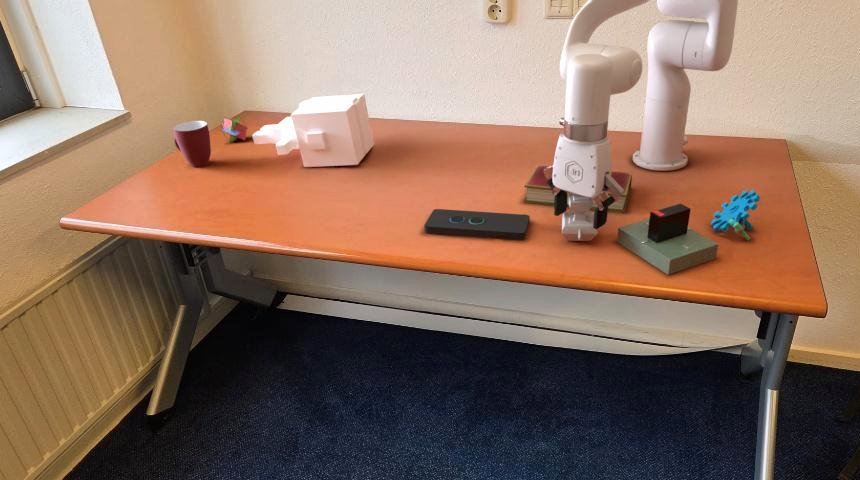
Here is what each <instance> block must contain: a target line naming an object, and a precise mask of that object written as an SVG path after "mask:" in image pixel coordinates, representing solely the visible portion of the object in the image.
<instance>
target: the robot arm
mask: <svg viewBox="0 0 860 480" xmlns="http://www.w3.org/2000/svg"><path fill="white" fill-rule="evenodd" d="M650 1H651V0H587V1H586V2H585V3H584V4H583V5H582V6H581V8H580V9H579V10H578V11H577V13H576V14H575V16H574V17H573V19H572V21H571V23H570V25H569V27H568V30H567V34H566V37H565V40H564V44H563V47H562V50H561V54H560V60H559V75H560V78H561V79H562V81H563V82H564V83H565V101H564V103H565V104H564V105H565V106H564V117H561V118H560V119H559V121H558V122H559V123H558V124H559V125H560V126H562V127H563V132H561V133H560V134H559V136H558V140H557V143H556V148H555V152H554V158H553V159H554V160H553V164H552V165H549V166H550V167H548V168H546V169H544V170H543V172H544V175H545V177H546V179H547V180H548V181H547V183H548V185H549V186H550V188H551V189H552V194H553V195H554V206H553V209H554V211H553V212H554V213H553V215H554V216H555V217H559V216H561V215H563V214H564V213H567V211H568V207H567V196H568V194H567V192H565V191H568V192H571V193H574V194H578V195H581V196H584V197H588V198H594V201H595V203H596V205H597V207H598V208H596V209H595V210H594V223H593V228H594V229H597V230H598V229H600V228H601V227H604V226H605V225H606V223H607V221H608V215H609V214H608V213H609V211H608V206H610V205H611V204H613V203H614V202H615V201H617V200H618V198H619V197H620V196H621V195H622V194H623V193H624V189H623V188H622V187H621V186H620V185H619V184H618V183H617V182H616V181H615V180H614V179H613V178H612V177H611V171H612V166H613V165H612V146H611V141H610V138H609V137H608V128H609V118H610V117H609V116H610V104H611V96H613V95H618V94H623V93H626V92H628V91H630V90H632V89H633V88H634V87H635V86H636V85H637V83H638V82H639V80H640V79H641V77H642V74H643V60H642V57H641V55H640V54H639V53H638V52H637V51H636V50H635V49H633V48H630V47H626V46H625V47H624V46H614V45H607V44H599V43H598V44H596V43H589V42H590V39H591V38H592V35H593V34H594V32H595V31H596V30H597V29H598V28H599V27H600V26H601V25H603V23H604V22H606V21H608V20H609V19H611V18H613V17H616V16H617V15H620V14H622V13H624V12H627V11H629V10H632V9H635V8H637V7H639V6H642V5H644V4H646V3H648V2H650ZM738 5H739V0H656V6H657V10H658V11H659V13H661V14H663V15H664V16H668V17H673V18H674V17H675V18H685V19H696V20H697V19H699V20H706V22H705V21H694V20H680V19H667V20H662V21H659V22H658V23H656V24H654V26H652V28H651V29H650V31H649V33H648V36H647V40H646V52H647V85H646V93H645V101H644V111H643V118H642V130H641V139H640V148H639V149H638V150H636V151H635V152H634V153H633V154H632V161H633V163H634V164H635V165H636V166H638V167H640V168H642V169H647V170H651V171H658V172H659V171H660V172H669V171H676V170H679V169H683V168H684V167H686V166H687V164H688V161H689V158H688V156H687V154H685V153H684V152H683V146H685V145H687V144H688V142H689V138H688V137H687V136H686V135H685V133H686V125H687V119H688V112H689V105H690V98H691V91H692V90H691V89H692V88H691V83H690V80H689V79H690V78H689V77H688V74H687V72H686V71H685V70H692V71H693V70H694V71H703V72H718V71H721V70H722V69H725V67H726V66H727V65H728V63H729V61H730V59H731V55H732V51H733V46H734V45H733V44H734V38H735V29H736V20H737V13H738V12H737V11H738ZM609 189H610V190H611V191H612V194H611V196H610V197H609V195H608V193H607V191H608V190H609ZM600 195H601V197H602V199H603V201H602V199H601V197H600Z"/></svg>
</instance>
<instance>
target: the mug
mask: <svg viewBox="0 0 860 480" xmlns="http://www.w3.org/2000/svg"><path fill="white" fill-rule="evenodd" d="M172 131H173V135H174V137H173V141H174V145H175V147H176V149H177V150H178V151H179V152H181V154H182V155H183V157H184V159H185V160H186V161H187V162H188V164H189V165H191V167H194V168H200V167H201V168H202V167H205V166H207V165H208V164H209V162H210V158H211V153H212V151H211V149H212V148H211V136H210V130H209V126H208V123H207V122H206V121H204V120H189V121H183V122H180V123H177V124H176V125H174V126H173V127H172Z"/></svg>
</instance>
